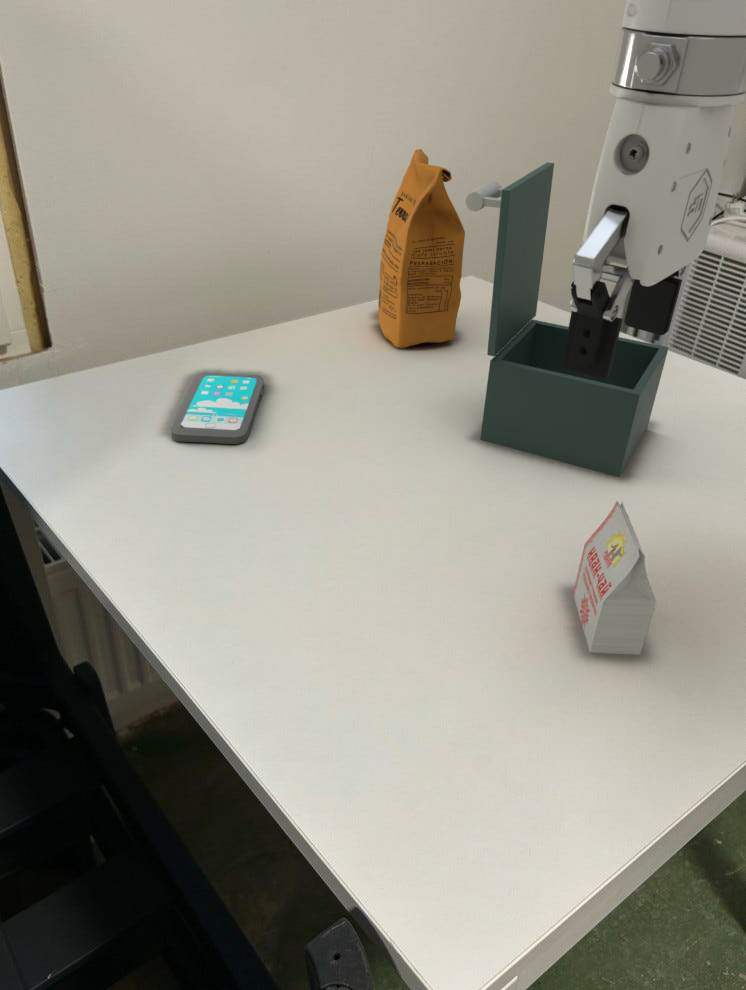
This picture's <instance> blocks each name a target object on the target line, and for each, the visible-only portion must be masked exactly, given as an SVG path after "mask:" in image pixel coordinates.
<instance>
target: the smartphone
mask: <svg viewBox="0 0 746 990" xmlns="http://www.w3.org/2000/svg"><path fill="white" fill-rule="evenodd" d="M264 381H265V380H264V377H262V376H261V375H258V374H241V373H221V372H220V373H218V372H203V373H198V374H197V375H195V377H194V379H193V381H192V383H191V385H190V386H189V389H188V391H187V393H186V395H185V397H184V399H183V401H182V403H181V405H180V407H179V409H178V411H177V412H176V413H177V414H176V415H175V417H174V420H173V422H172V425H171V428H170V433H171V439H173V440H174V441H176V442H188V443H189V442H190V443H205V444H206V443H209V444H211V443H212V444H225V445H227V444H229V445H237V444H242V443H244V442H245V441H246V440H247V439H248V437H249V434H250V431H251V428H252V425H253V423H254V418H255V415H256V413H257V410H258V406H259V403H260V400H261V398H262V396H263V393H264V387H265V382H264Z"/></svg>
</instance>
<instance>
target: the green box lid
mask: <svg viewBox="0 0 746 990" xmlns="http://www.w3.org/2000/svg"><path fill="white" fill-rule="evenodd" d="M554 169H555V163H554V162H545V163H544V164H542V165H540V166H539V167H537V168H535V169H534V170H532V171H531V172H528V173H527V174H525V175H524V176H522V177H520V178H519V179H517V180H515V181H514V182H513V183H511V184H509V185H508V186H506V187H502V186H501V184H500V182H498V181H496V180H490V181H488V182H486V183H484V184H483V185H481V186H479V187H478V188H477V187H476V189H474V190H471V192H469V193H468V194H467V195H466V197H465V206H466V208H467V209H468V210H469V211H471V212H473V213H474V212H475V213H476V212H479V211H480V210H482V209H483V208H485V207H488V208H497V209H499V215H498V228H497V238H496V250H495V261H494V271H493V272H494V273H493V283H492V284H493V285H492V295H491V309H490V317H489V318H490V319H489V330H488V342H487V353H486V355H487V356H490V357H495V356H496V355H497V354H498V353H499V352H500V351H501V350H502V349H503V348H504V347H505V346H506V345H507V344H508V343H509V342H510V341H511V340H512V339H513V338H514V337H515V336H516V335H517V334H518V333H519V332H520V331H521V330H522V329H523V328H524V327H525V326H526V325H527V324H528V323H529V322H530V321H531V320H532V319H533V320H534V318H535V317H536V316H537V311H538V302H539V294H540V285H541V277H542V269H543V261H544V253H545V252H544V251H545V242H546V235H547V228H548V227H547V226H548V220H549V211H550V204H551V203H550V201H551V193H552V187H553V179H554V178H553V176H554Z"/></svg>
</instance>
